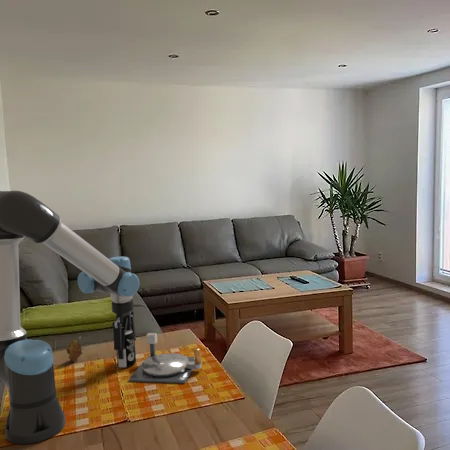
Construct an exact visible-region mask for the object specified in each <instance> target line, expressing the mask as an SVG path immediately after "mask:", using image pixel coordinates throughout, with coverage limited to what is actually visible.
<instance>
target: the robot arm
mask: <svg viewBox="0 0 450 450" xmlns="http://www.w3.org/2000/svg"><path fill="white" fill-rule="evenodd" d="M25 238H27V239H29V240H30V241H32V242H34V243H35V244H37V245H41V244H43V245H45V247H48V248H49V249H50V250H52V251H53V252H55V253H57V255H59V256H61V257H62V258H63V259H64V260H66V261H68V262H69V263H70V264H72V265H74V266H75V267H76V268H77V269H79V270H80V271H81V272H80V273H78V276H77V286H78V288H79V290H80V291H81V292H82V293H83V294H93V293H95V292H99V293H105V294H109V295H110V300H111V311H112V313H113V314H115V315H116V317H115V321H113V322H112V324H111V325H112V329H113V349H114V351H116V350H118V363H119V365H118V368H128V367H127V362H126V349H124V343H125V330H130V329H131V330H132V331H133V334H134V340H135V341H137V338H136V335H137V334H136V326H135V318H134V317H135V316H134V315H135V313H134V311H133V310H134V300H133V297H134V295H136V294H137V292H138V290H139V289H140V285H141V284H140V279H139V277H138V276H137V274H135V273H132V267H131V260H130V257H128V256H113V257H110V258H108V257H106V256H105V255H104V254H103V253H101V251H99V250H98V249H96V248H95V247H94V246H92V245H91V244H90V243H89V242H88V241H86V240H85V239H83V238H82V237H81V236H80V235H78V233H76V232H74V230H72V229H71V228H69V227H68V226H67V225H66V224H64V223H63V222H62V219H61V216H60V215H58V214H57V213H56V212H55V211H54V210H53V209H51V208H50V207H49V206H48V205H46V204H45V203H43V202H42V201H40V200H39V199H37V198H36V197H35V196H33V195H31V194H30V193H27V192H24V191H21V190H3V191H2V190H0V385H3V386H5V387H7V389H8V391H7V392H8V399H9V409H8V415H7V418H6V423H5V427H4V429H5V430H4V432H5V437H6V438H5V439H6V440H7V441H8V442H10V443H12V444H16V445H29V444H35V443H39V442H42V441H45V440H48V439H50V438H52V437H53V436H56V435H58V434H59V433H60V432H61V431H63V429H64V427H65V425H66V414H65V412H64V410H63V408H62V406H61V403H60V401H59V400H58V397H57V391H56V389H57V388H56V379H55V378H56V377H55V368H54V361H55V359H54V355H53V351H52V347H51V345H50V344H49V343H48V342H46V341H44V340H42V339H41V340H40V339H34V340H33V339H28V338H27V334H28V333H27V330H25V329H24V328H23V327H22V325H21V296H20V295H21V293H20V292H21V291H20V263H19V262H20V260H19V258H20V256H19V244H20V243H21V242H22V241H23V240H24V239H25ZM118 363H117V364H118Z"/></svg>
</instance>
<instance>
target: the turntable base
mask: <svg viewBox="0 0 450 450" xmlns="http://www.w3.org/2000/svg"><path fill="white" fill-rule="evenodd" d="M145 337H146V344H148V345H149V353H150V355H148V356H147V357H146V359H148V358H150V357H152V356H155V355H157V354H156V344H157V343H158V342H159V341H158V333H157V332H148V333H147V334H146V335H145ZM186 357H187V358H188V359H189V362H195V360H194V356H186ZM194 370H195V369H186V370H185V371H183V372H181V373H178V374H175V375H171V376H151V375H147V374H145V373H144V372H143V370H142V363H141V365H139V366H138V368H137V369H136V370H135V371H134V372H133V374H131V375H130V377H129V378H128V379H129V382H136V383H137V382H139V383H140V382H142V383H145V382H146V383H162V384H163V383H166V384H186V383H187V381H188V380H189V377H190V376H191V375H192V373H193V371H194Z"/></svg>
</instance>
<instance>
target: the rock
mask: <svg viewBox="0 0 450 450" xmlns="http://www.w3.org/2000/svg"><path fill="white" fill-rule="evenodd" d="M83 341H84V340H83V338H82V336H79V337H78V340H75V339H73V340H72V341H70V342H69V345H68V347H67V348H66V353H67V354H68V355H69V356H68V358H69V360H70V361H72V362H77V360H78V359H79V357H80V356H81V355H83V351H82V346H81V344H80V343H79V342H83Z"/></svg>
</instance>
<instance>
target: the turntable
mask: <svg viewBox="0 0 450 450" xmlns="http://www.w3.org/2000/svg"><path fill="white" fill-rule="evenodd" d="M201 355H202V354H201V348H200V347H195V348H194V349H193V357H194V360H195V362H189V359H188V358H187V357H188V356H187V355H184V354H180V353H173V352H172V353H160V354H156V355H155V356H152V357H150V358H148V357H147V358H148V359H147V358H146V359H145V360H143V362H142V363H141V364H142V370H143V372H144V373H145V374H147V375H151V376H171V375H175V374H178V373H181V372H183V371H185V370H186V369H194V370H200V369H201V368H202V366H203V362H202V356H201Z"/></svg>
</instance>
